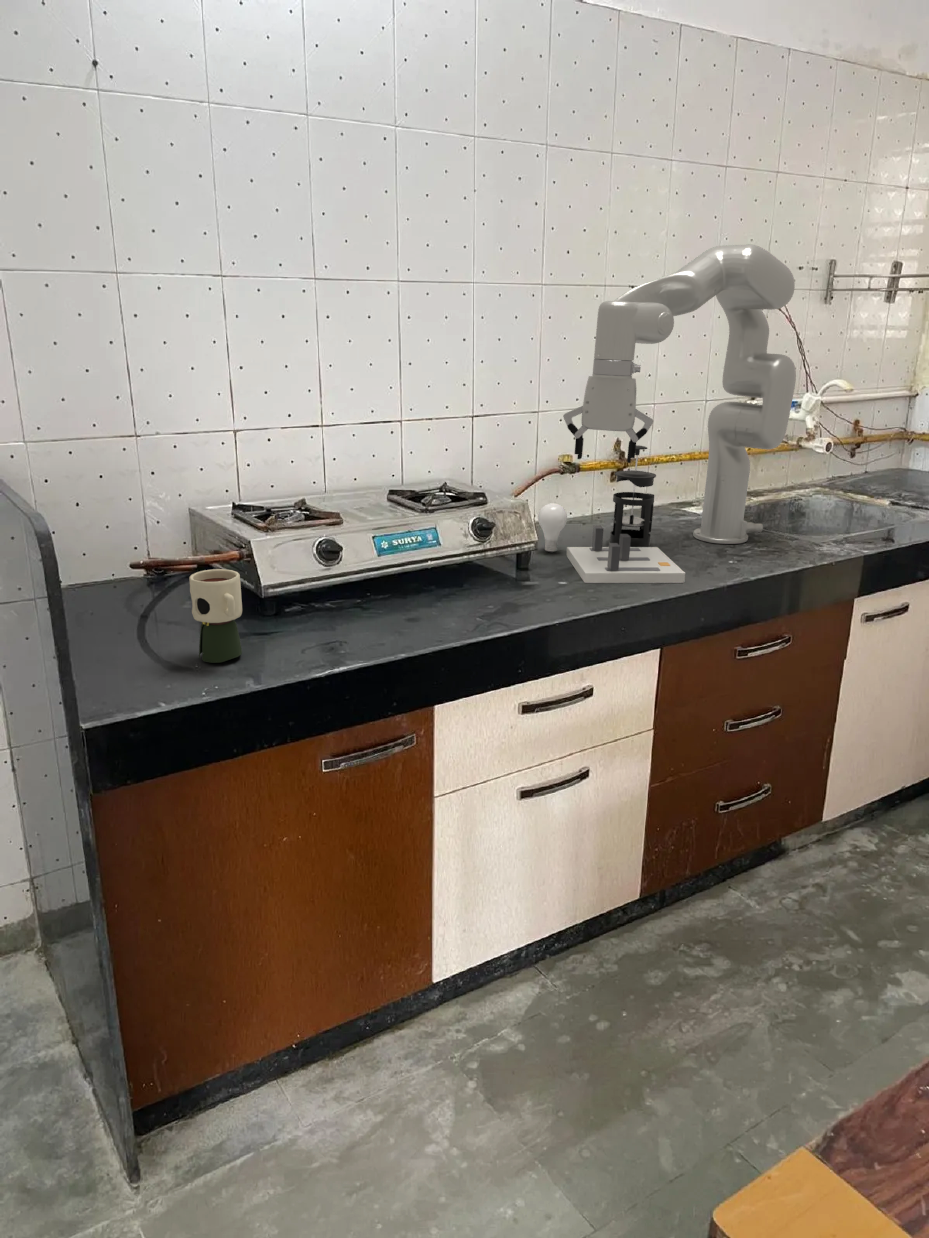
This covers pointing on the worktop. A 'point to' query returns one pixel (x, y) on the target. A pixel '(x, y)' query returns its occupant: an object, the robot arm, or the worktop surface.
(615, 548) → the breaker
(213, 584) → the character mug
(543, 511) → the lightbulb
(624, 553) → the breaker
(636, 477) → the french press
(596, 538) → the breaker
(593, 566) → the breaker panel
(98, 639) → the worktop surface
